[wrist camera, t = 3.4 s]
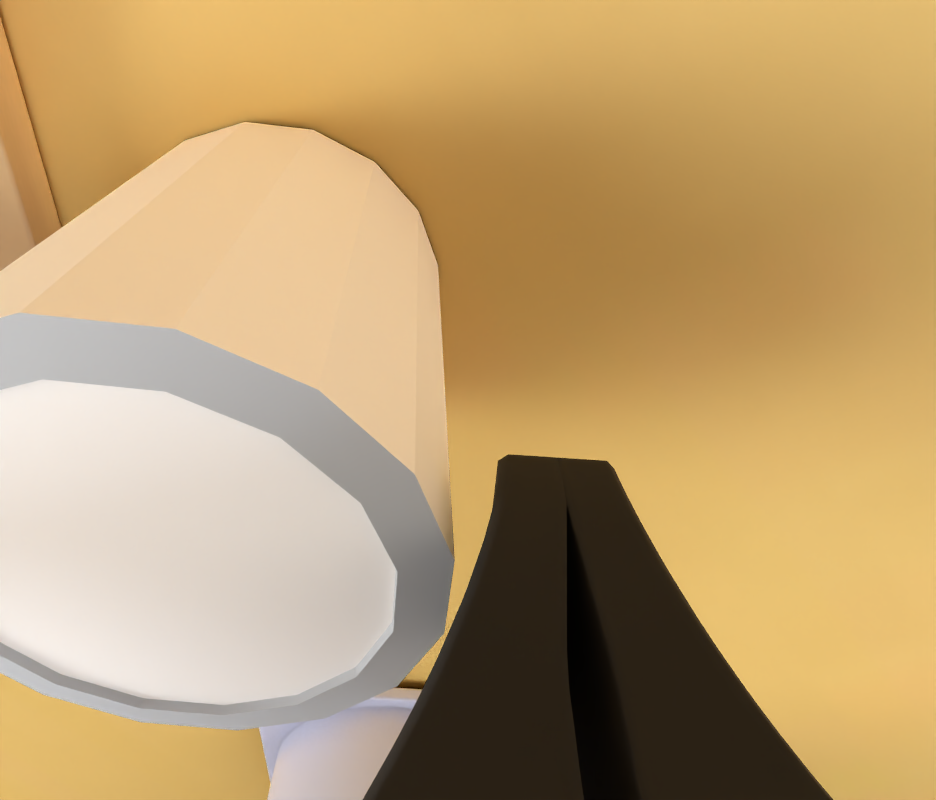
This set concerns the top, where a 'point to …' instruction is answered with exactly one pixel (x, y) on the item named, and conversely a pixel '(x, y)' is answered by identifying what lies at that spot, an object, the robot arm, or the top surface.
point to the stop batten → (20, 171)
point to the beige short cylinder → (226, 440)
